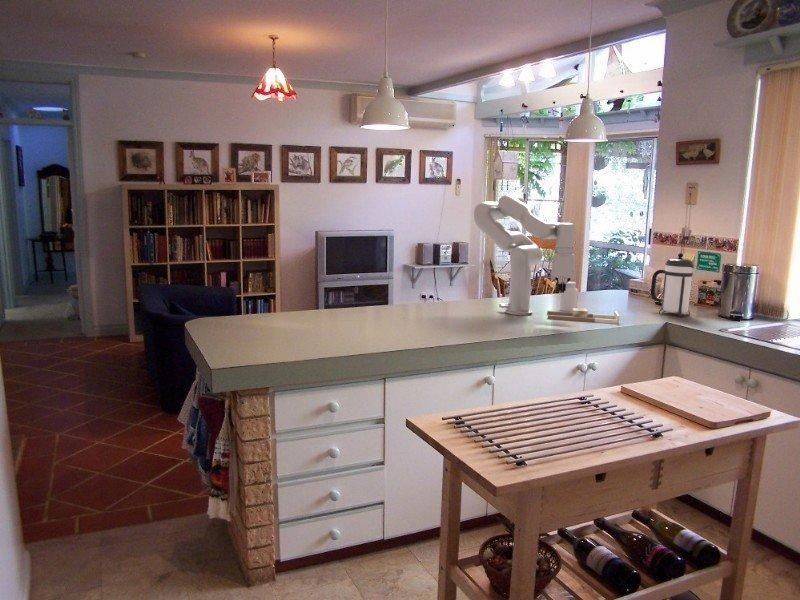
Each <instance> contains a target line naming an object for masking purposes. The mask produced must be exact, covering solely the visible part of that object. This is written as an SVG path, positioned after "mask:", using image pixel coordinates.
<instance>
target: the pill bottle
mask: <svg viewBox="0 0 800 600" xmlns="http://www.w3.org/2000/svg"><path fill="white" fill-rule="evenodd" d="M576 286H577V283H576V282H575V281H569V282H568V283H567V284H566V291H564V293H560V301H559V303H560V304H559V311H560V312H573V308H578V303H579V301H578V300H579V289H578V288H576Z"/></svg>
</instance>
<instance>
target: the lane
mask: <svg viewBox="0 0 800 600" xmlns="http://www.w3.org/2000/svg"><path fill="white" fill-rule="evenodd" d="M546 313H547V314H546V315H547V320H557V321H558V320H559V321H563V320H564V321H574V322H586V323H587V322H588V323H600V324H601V323H603V324H615V325H616V324H617V325H620V314H619V313H618V311H617V310H614V311H613V314H601V313H588V315H587V318H585V317H572V314H573V312H566V311H560V310H559V311H557V310H547V312H546Z"/></svg>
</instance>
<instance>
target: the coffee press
mask: <svg viewBox="0 0 800 600" xmlns="http://www.w3.org/2000/svg"><path fill="white" fill-rule="evenodd" d="M683 257H684V254H683V253H682V252H679V253H678V255H677V257H672V258H668V259H667V260H666V261H665V269H658V270H656V271H655V272H654V273H653V274H652V277H651V286H650V297H651V299H653V301H655V302H656V303H661V308H660V309H659V310H658V313H659V314H660V313H662V314H664V313H672V314H677V317H678V316H679V317H678V318H682V317H683V314H685V315H688V316H690V315H691V312H690V311H689V306H690V298H691V296H690V295H691V287H692V279H693V277H694V276H693V275H694V274H693V273H694V272H696V267H695V264H694V263H693V261H692V260H691V259H688V258H683ZM660 274H664V281H663V288H662V289H663V290H662V298H658V297H657V296H656V286H657V285H656V284H657V277H658V275H660ZM661 311H662V312H661ZM687 312H688V313H687Z"/></svg>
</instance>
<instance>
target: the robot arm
mask: <svg viewBox="0 0 800 600" xmlns="http://www.w3.org/2000/svg"><path fill="white" fill-rule="evenodd" d="M533 212H534V210H533V208H532V206H530V205H528V204H526V202H525V200H524V198H523V197H522V196H520V195H518V194H504V195H502V196H501V197H500V198H499V199H498V201H483V202H480V203H478V204H477V205H476V206H475V207H474V211H473V220H474V222H475V225H476V226H477V228H478V229H479V230H480V231H481V232H482V233H483V234H485V236H487V237H488V238H489V239H490V240H491V242H493V243H494V244H495V245H496V246H497V247H498V248H499V249H500V250H501V251H503V252H507V253H509V252H510V254H509V264H510V277H509V278H510V279H509V280H510V282H509V295H508V302H506V303H501V302H500V303H499V304H498V308H500V309H504V312H505V313H506V314H508V315H515V316H530V315H531V316H532V314H533V311H532V310H530V302H531V300H530V299H531V290H532V289H531V288H532V287H531V286H532V271H531V270H532V269H531V266H536V265H537V264H540V263H541V261H542V258H543V252H542V250H541V248H540V247H539V246H538V245H537V244H536V243H535V242H534V241H533V240H531V239H530V238H529V237H528V236H527V235H526V234H524V233H523V232H521V231H516V230H515V231H514V230H513V231H512V230H508V229H507V228H506V227H505V226H504V225H502V223H500V222H499V221H497V220H502V219H504V218H508V217H511V219H512V220H513V219H514V220H515V221H516V222H518V223H520V225H521V227H522V228H523V229H524V231H526V232H527V233H529V234H531V235H532V236H534V237H536V238H538V239H539V240H551V239H552V240H553V239H555V247H552V248H551V249H552V250H551V251H552V252H555V253H553V256H552V259H551V271H550V273H551V274H550V278H549V279H551V280H555V281H556V282H557V283H558V291H559V293H560V294H561V293H564V291H566V284H567V283H568V282H571V281H574V280H576V256H575V254H574V244H575V243H574V241H575V224H574V223H572V222H557V221H542V220H541V219H539V218H538V217H536V216H535V215H534V214H533ZM562 278H564V280H563V282H562Z"/></svg>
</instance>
